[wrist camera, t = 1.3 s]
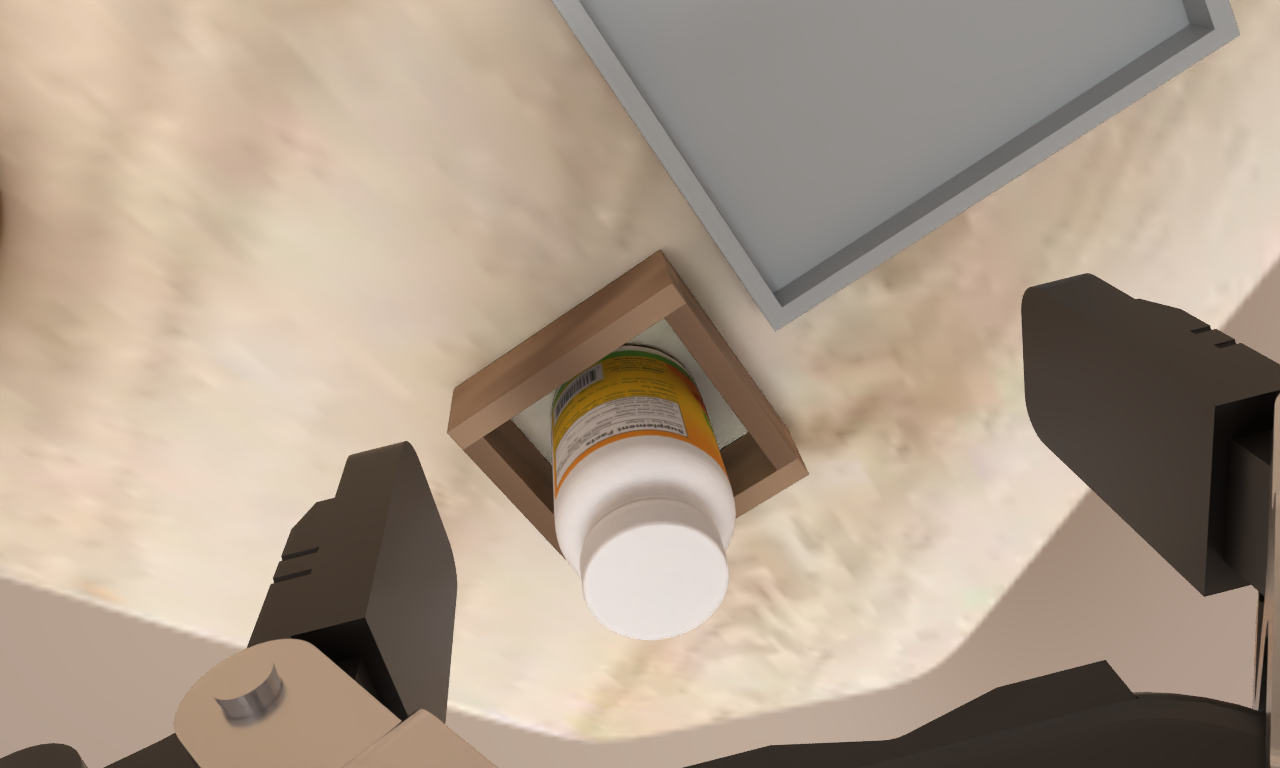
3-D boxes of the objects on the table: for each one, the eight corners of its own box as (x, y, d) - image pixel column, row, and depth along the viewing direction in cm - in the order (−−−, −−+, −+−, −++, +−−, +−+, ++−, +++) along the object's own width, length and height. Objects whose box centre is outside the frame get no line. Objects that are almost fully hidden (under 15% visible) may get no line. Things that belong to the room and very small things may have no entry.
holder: (660, 249, 32) (671, 283, 29) (788, 430, 35) (809, 474, 33) (454, 388, 33) (447, 433, 31) (597, 547, 37) (602, 598, 34)
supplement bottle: (695, 472, 36) (746, 658, 27) (550, 474, 35) (555, 665, 27) (706, 341, 33) (766, 499, 25) (550, 341, 33) (556, 503, 24)
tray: (1041, -423, 24) (1081, -446, 23) (1198, 25, 30) (1240, 34, 28) (532, -34, 27) (532, -28, 26) (762, 307, 33) (775, 331, 31)
